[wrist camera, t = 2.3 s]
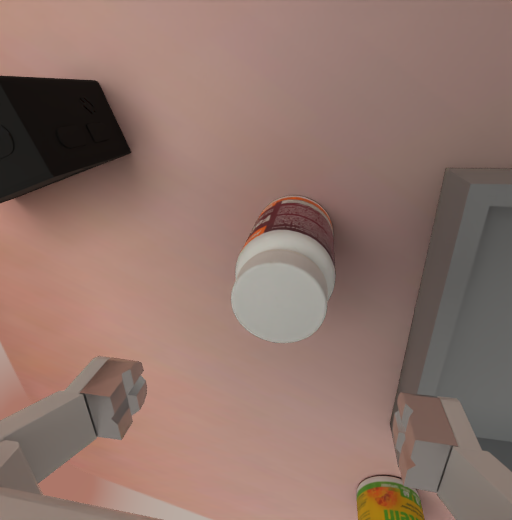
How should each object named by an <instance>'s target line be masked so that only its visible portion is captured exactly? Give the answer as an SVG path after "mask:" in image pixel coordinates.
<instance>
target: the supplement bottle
mask: <svg viewBox="0 0 512 520" xmlns="http://www.w3.org/2000/svg"><path fill="white" fill-rule="evenodd" d="M357 511H358V520H425V519H424V515H423V510H422V506H421V502H420V498H419V495H418V492H417V491H416V489H415V488H410V487H405V486H403V482H402V479H399V478H396V477H391V476H375V477H370V478H368V479H365V480H364V481H363V482H361V483H360V485H359V486H358V488H357Z"/></svg>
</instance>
